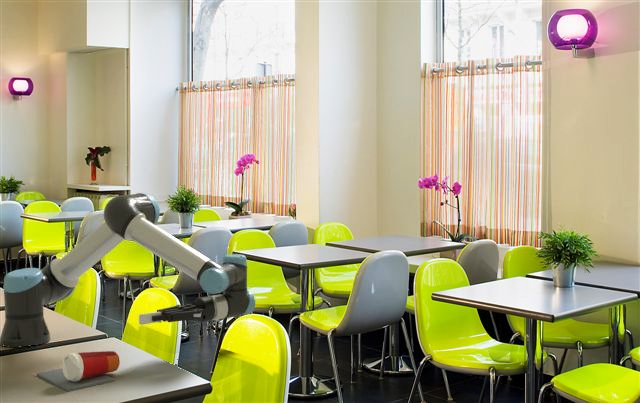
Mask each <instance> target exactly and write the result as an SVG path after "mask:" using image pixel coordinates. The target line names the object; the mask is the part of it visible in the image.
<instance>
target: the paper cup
mask: <svg viewBox="0 0 640 403" xmlns="http://www.w3.org/2000/svg"><path fill="white" fill-rule="evenodd" d="M120 362H121V360H120V357H119V354H118V353H117V352H116V351H113V350H112V351H111V350H110V351H109V350H108V351H107V350H106V351H105V350H104V351H87V352H76V351H72V352H69V354H67V355H66V356H65V357H64V359H63V360H62V368H61V369H63V373H64V376H65V377H66V378H67V379H68V380H71V381H74V382H75V381H79V380H80V379H84V378H88V377H93V376H97V375H102V374H105V375H107V374H110V373H115V371H118V369H119V368H120Z"/></svg>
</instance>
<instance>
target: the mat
mask: <svg viewBox="0 0 640 403" xmlns="http://www.w3.org/2000/svg"><path fill="white" fill-rule="evenodd" d="M36 376H37V377H39V378H41V379H42V380H45V381H47V382H49V383H51V384H53V385H54V386H57V387H58V388H60V389H63V390H64V391H66V392H71V391H75V390H80V389H85V388H89V387H93V386H98V385H102V384H107V383H111V382H112V383H113V382H115V380H116V379H115V378H114V377H111V376H109V375H108V374H102V375H97V376H93V377H88V378H84V379H80V380H79V381H75V382H74V381H71V380H68V379H67V378H66V377H65V376H64V373H63V369H62V368H58V369H57V368H56V369H53V370H48V371H42V372H38V373H37V372H36Z"/></svg>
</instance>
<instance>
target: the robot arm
mask: <svg viewBox="0 0 640 403" xmlns="http://www.w3.org/2000/svg"><path fill="white" fill-rule="evenodd" d="M159 218H160V207H159V204H158V201H157V200H156V199H155V197H154V196H152V195H151V194H147V193H143V192H141V193H140V192H137V193H134V194H122V195H117V196H114V197H112V198H110V199H109V201H108V202H107V203H106V205H105V207H104V209H103V221H104V222H102V223H101V224H100V225H99V226H98V227H97V228H96V229H94V231H92V232H91V233H90V234H89V235H88V236H86V237H85V238H84V239H83V240H81V242H79V243H78V244H77V245H75V247H74V248H73V249H71V250H70V251H69V252H67V254H65V255H64V256H63V257H61V258H54V259H53V260H50V262H49V263H48V264H47V265H46V266H44V267H43V268H41V269H40V268H38V267H37V268H36V267H26V268H20V269H15V270H13V271H10V272H8V273H7V274H5V276H4V277H3V278H4V279H3V292H4V293H3V296H4V298H3V300H4V314H5V315H4V317H5V318H4V319H5V320H4V325H3V327H2V330H1V334H0V344H1V345H4V346H9V347H8V348H13V347H17V348H20V347H19V346H29V345H36V346H39V345H38V344H41V345H44V344H47V343H49V342H50V341H51V333H50V331H49V328H48V325H47V323H46V320H45V316H44V305H49V304H50V303H51V304H52V303H55V302H56V303H57V302H60V301H63V300H65V299H67V298H68V297H69V296H72V295H71V294H73V293H74V291H75V289H76V286H78V284H79V280H80V277H81V276H83V275H84V274H85V273H86V272H88V271H89V270H90V269H91V268H92V267H94V266H95V265H96V264H97V263H98V262H99V261H100V260H102V259H103V258H104V257H105V256H106V255H108V254H109V253H110V252H111V251H113V250H114V249H115V248H116V247H117V246H119V244H121V243H123V241H124V240H125V241H127V242H131V241H132V242H135V243H137V244H138V245H139V246H141V247H142V248H144V249H146V250H148V251H149V252H150V253H153V254H154V255H155V256H158V258H160V259H161V260H164V261H165V262H167V263H168V264H169V265H172V266H173V267H174V268H176V269H177V270H179V271H181V272H182V273H184V274H186V275H187V276H189V277H190V278H192V279H193V280H195V281H196V282H199V285H200V287H201V289H202V290H203V291H204V292H205V293H207V294H210V295H209V296H202V297H198V298H196V299H195V300H194V301H193V303H187V304H185V305H181V304H176V305H174V306H169V307H165V308H161V309H156V311H154V312H148V313H140V314H139V315H138V325H141V326H142V325H143V326H144V325H150V324H153V323H162V322H163V323H165V322H168V323H172V322H173V323H174V322H183V321H192V320H193V321H195V320H196V321H197V322H199V323H207V322H211V321H216V322H219V321H220V320H223V319H229V318H236V317H242V316H245V315H250V314H251V313H253V312H254V311H255V308H256V300H255V295H254V293H253V292H252V291H250V290H248V262H247V260H248V259H247V257H246V256H245V254H235V253H234V254H225V255H224V256H223V257H222V263H221V265H220V264H219V263H217V262H215V261H214V260H211V259H210V258H209V257H207V256H206V255H204V254H203V253H201V252H199V251H197V250H196V249H194V248H193V247H191V246H190V245H188V244H186V243H185V242H183V241H181V240H180V239H178V238H176V237H175V236H173V235H172V234H171V233H168V232H167V231H166V230H164V229H162V228H161V227H159V226H157V225H156V224H157V223H158V221H159ZM220 293H222V294H220ZM48 341H49V342H48ZM46 342H47V343H46ZM43 343H44V344H43ZM1 345H0V346H1ZM4 346H3V347H4Z"/></svg>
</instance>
